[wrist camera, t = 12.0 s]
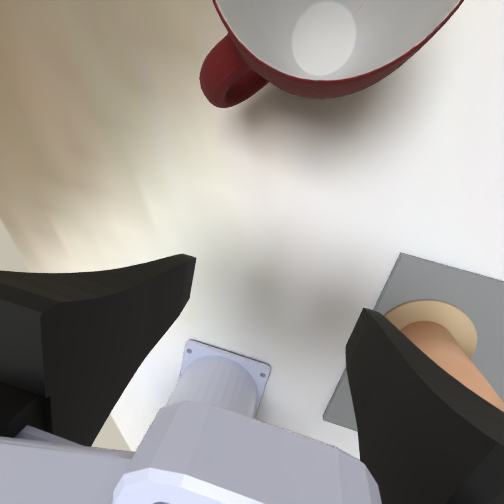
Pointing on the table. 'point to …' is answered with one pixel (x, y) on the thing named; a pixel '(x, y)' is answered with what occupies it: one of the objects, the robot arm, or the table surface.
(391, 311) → the cork pad
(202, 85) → the mug
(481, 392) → the terracotta cylinder
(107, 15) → the table surface
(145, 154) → the table surface
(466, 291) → the felt mat
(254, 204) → the table surface
